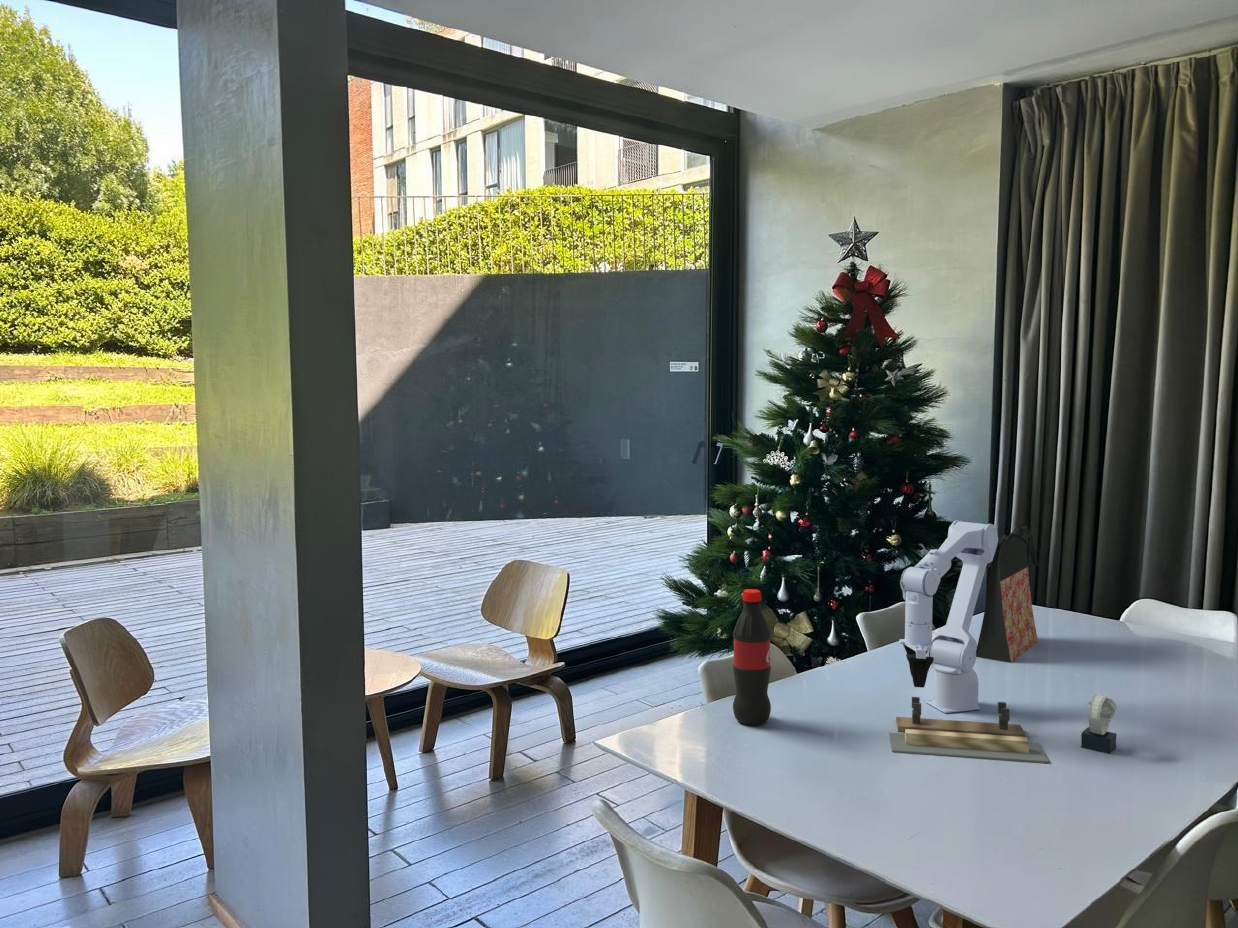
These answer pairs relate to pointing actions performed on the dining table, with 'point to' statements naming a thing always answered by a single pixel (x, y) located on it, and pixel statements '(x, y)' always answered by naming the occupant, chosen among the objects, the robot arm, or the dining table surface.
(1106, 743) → the watch
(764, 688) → the cola bottle
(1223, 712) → the dining table surface
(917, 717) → the rack
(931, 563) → the robot arm
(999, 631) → the gift bag
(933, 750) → the mat
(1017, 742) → the rail
